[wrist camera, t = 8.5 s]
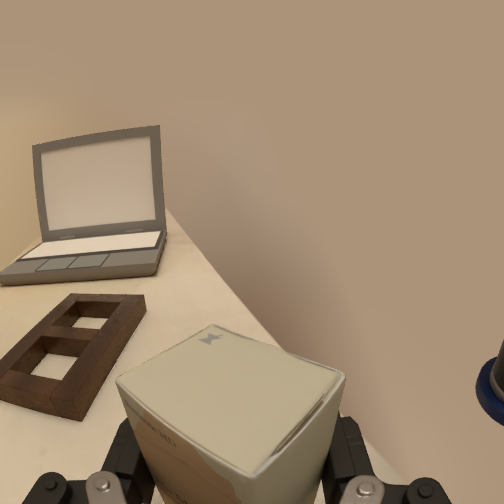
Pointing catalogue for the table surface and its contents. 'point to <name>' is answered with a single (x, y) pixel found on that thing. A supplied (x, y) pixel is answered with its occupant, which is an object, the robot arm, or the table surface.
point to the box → (232, 420)
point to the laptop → (96, 209)
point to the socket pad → (70, 353)
